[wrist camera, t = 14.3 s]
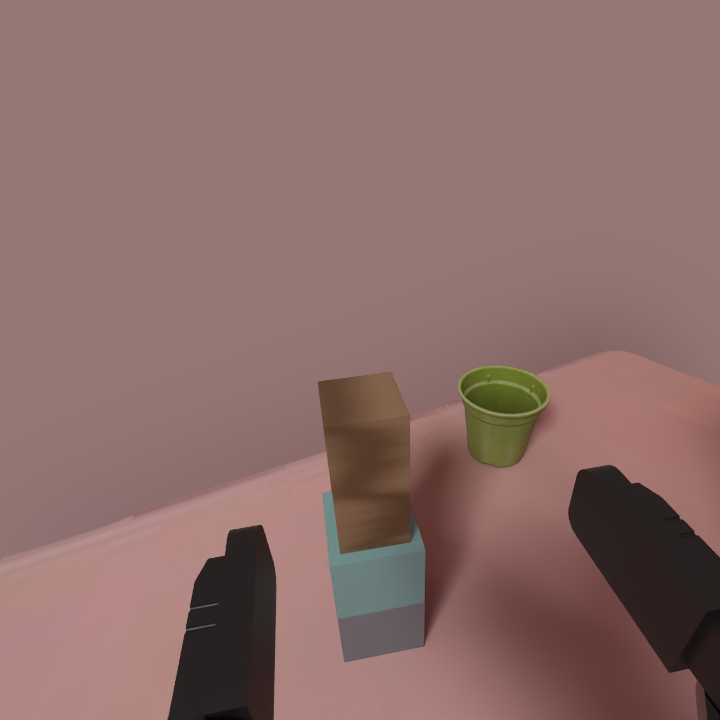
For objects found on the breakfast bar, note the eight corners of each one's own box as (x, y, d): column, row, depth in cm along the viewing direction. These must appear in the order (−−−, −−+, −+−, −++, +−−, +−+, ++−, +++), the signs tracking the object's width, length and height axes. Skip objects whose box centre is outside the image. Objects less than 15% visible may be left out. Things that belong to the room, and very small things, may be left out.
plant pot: (557, 463, 47) (571, 398, 43) (486, 491, 45) (493, 424, 40) (503, 417, 55) (510, 358, 51) (439, 438, 52) (441, 378, 48)
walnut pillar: (394, 489, 31) (391, 371, 26) (410, 542, 27) (409, 415, 22) (333, 499, 31) (317, 381, 26) (340, 554, 27) (323, 427, 22)
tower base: (404, 573, 37) (403, 530, 34) (424, 646, 32) (424, 602, 29) (336, 586, 37) (329, 543, 34) (344, 662, 31) (337, 619, 29)
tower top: (403, 530, 35) (402, 480, 32) (424, 602, 29) (425, 549, 27) (329, 542, 34) (322, 492, 31) (337, 618, 29) (329, 566, 26)
